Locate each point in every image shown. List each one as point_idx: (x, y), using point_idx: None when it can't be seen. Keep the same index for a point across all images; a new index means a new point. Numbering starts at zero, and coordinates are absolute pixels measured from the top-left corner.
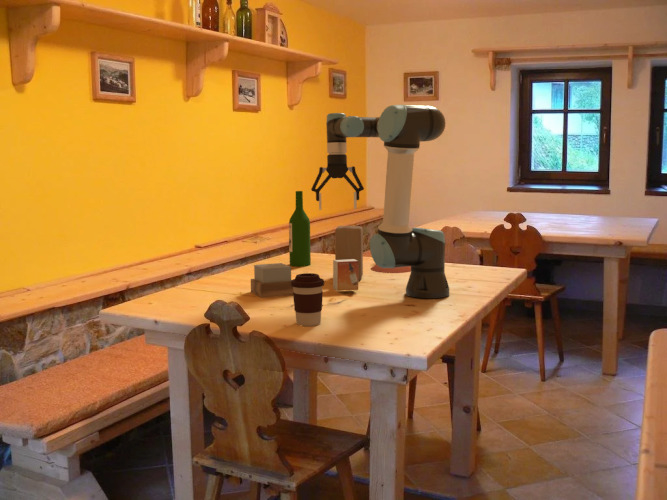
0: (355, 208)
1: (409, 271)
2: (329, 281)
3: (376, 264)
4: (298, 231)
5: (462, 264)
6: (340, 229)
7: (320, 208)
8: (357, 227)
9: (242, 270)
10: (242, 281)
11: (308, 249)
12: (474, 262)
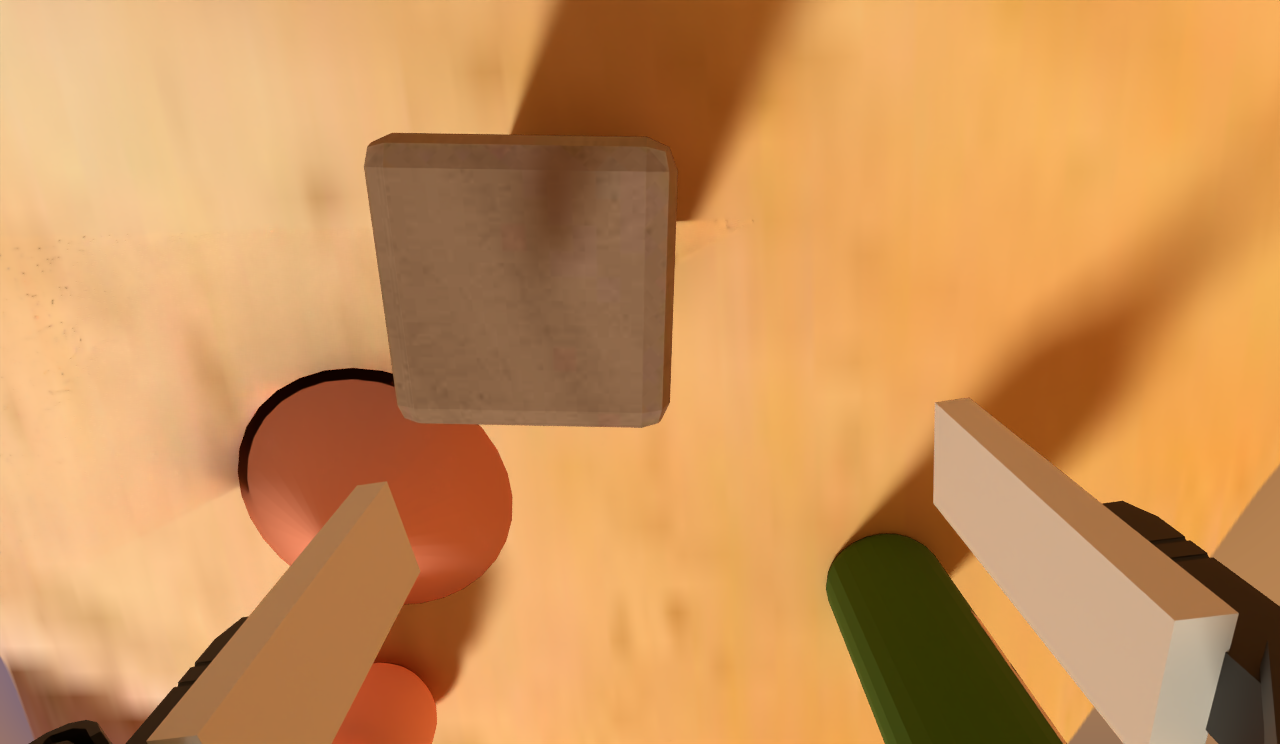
0: (369, 486)
1: (264, 423)
2: (698, 102)
3: (455, 526)
4: (1001, 715)
5: (68, 670)
6: (609, 144)
7: (963, 410)
8: (411, 240)
9: (1212, 485)
10: (1270, 80)
11: (869, 634)
12: (29, 721)
